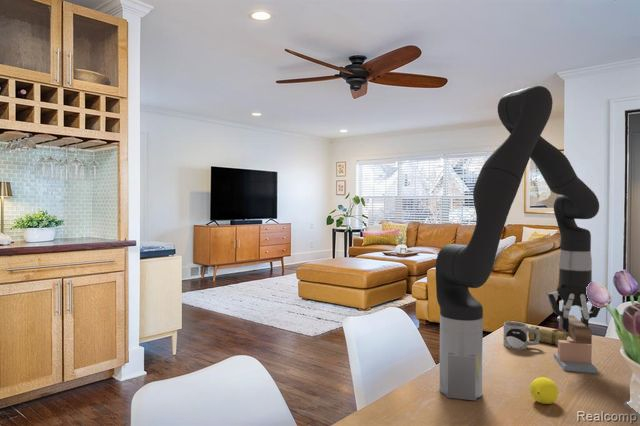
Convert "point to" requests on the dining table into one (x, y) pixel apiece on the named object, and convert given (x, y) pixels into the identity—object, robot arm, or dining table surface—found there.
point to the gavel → (548, 335)
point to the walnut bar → (578, 331)
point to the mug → (518, 335)
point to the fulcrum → (575, 356)
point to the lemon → (544, 390)
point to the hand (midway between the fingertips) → (574, 331)
